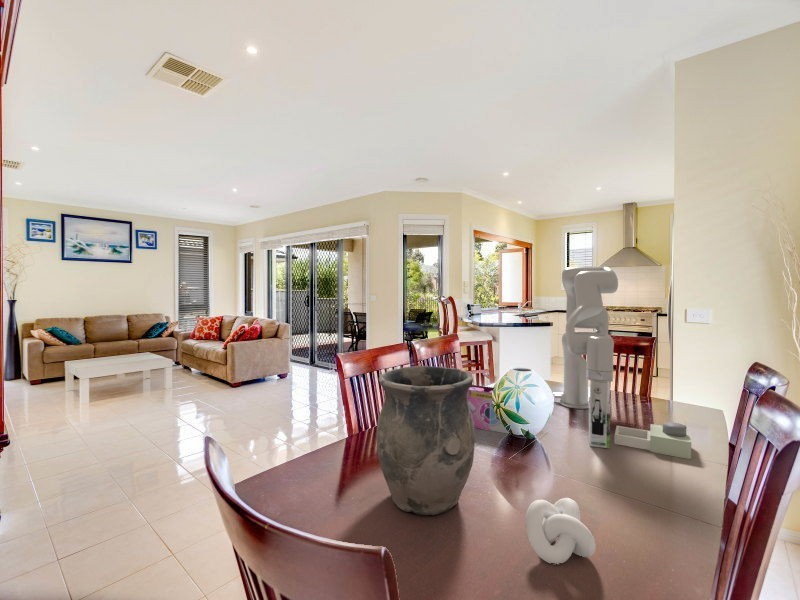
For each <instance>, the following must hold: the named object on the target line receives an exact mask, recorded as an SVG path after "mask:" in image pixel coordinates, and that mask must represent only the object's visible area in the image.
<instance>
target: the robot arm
mask: <svg viewBox="0 0 800 600" xmlns="http://www.w3.org/2000/svg"><path fill="white" fill-rule="evenodd" d="M561 272H562V273H561V282H562V285H563V287H564V290H565V294H566V315H565V317H566V323H565V324H566V325H565V332H564V333H563V334H562V337H561V345H562V351H563V352H562V353H563V392H554V391H553V393H552V395H553V394H554V398H555V399H560V400H559V404H560V405H561V406H563V407H566V408H570V409H576V410H577V409H578V410H579V409H580V410H586V409H589V397H590V409H591V411H592V412H593V421H592V434H596V435H601V436H603V435H604V422H603V413H605V414H608V412H609V402H610V403H611V386H610V383H611V382H613V381H614V347H615V342H614V339H613V337H611V335H610V334H609V324H610V323H609V321H610V319H609V317H610V316H609V312H608V310H607V308H605V307H604V304H603V297H602V294H614V293H616V292H617V291H618V288H619V279H618V276H617V274H616V272H615V271H614V270H613V269H611V268H610V267H609V266H599V265H598V266H571V267H565V268H564V269H563V270H562V271H561ZM575 329H579V330H575ZM580 329H583V330H580ZM584 329H586V330H587V331H586V330H584ZM588 330H589V331H588ZM592 330H593V331H592ZM594 330H595V331H594ZM583 355H584V356H586V359H585V358H584V356H583ZM589 381H590V383H589ZM589 385H590V386H589ZM592 408H593V409H592ZM599 410H601V411H602V412H599ZM599 414H600V415H601V417H600V415H599Z"/></svg>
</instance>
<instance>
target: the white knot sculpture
mask: <svg viewBox="0 0 800 600" xmlns="http://www.w3.org/2000/svg"><path fill="white" fill-rule="evenodd" d="M525 528H526V529H525V530H526V533H527V536H528V537H527V538H528V540H529V542H530V545H531V547H532V548H533V550H534V551H535V553H536V554H537V555H538V556H539V558H540V559H542V560H543V561H545V562H546V563H548V564H551V563H557V565H559V564H558V563H562V564H563V563H565V562H567V561H568V560H569V558H570V557H571V556H572V554H575V555H577V556H578V557H581V556H582V557H581V558H588V557H591V556H593V555H594V553H595V552H596V546H597V545H596V541H595V538H594V536H593V534H592V532H591V531H590V529H589V528H588V527H587V526H586V525H585V524H584V523H583V522H581V511H580V508H579V504H578V503H577V502H576V501H575V500H574V499H572V498H569V497H563V498H560V499H558V500H557V501H555V502H554V503H553V504H552V503H551V502H549V501H547V500H546V499H536V500H534V501H532V502H531V503H530V505H529V506H528V508H527V511H526V514H525ZM556 539H557V540H556ZM555 541H556V542H555ZM554 542H555V543H554ZM553 543H554V544H553Z"/></svg>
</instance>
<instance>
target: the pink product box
mask: <svg viewBox="0 0 800 600" xmlns="http://www.w3.org/2000/svg"><path fill="white" fill-rule="evenodd" d="M494 388H495V387H493V386H492V387H490V386H485V385H484V386H483V385H477V384H471V386H470V388H469V390H468V392H467V400H468V404H469V407H470V410H471V414H472V418H473V423H474V429H481V430H486V431H492V432H495V433H496V432H497V433H501V434H502V433H503V434H507V435H510V434H509V432H508V431H507V430H506V429H505V428H504V427H503V425H502V424H501V422H500V421H499V419H498V418H497V416H496V414H495V412H494V409H493V405H492V392H493V389H494Z"/></svg>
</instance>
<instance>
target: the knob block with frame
mask: <svg viewBox="0 0 800 600" xmlns="http://www.w3.org/2000/svg"><path fill="white" fill-rule="evenodd" d="M649 427H650V429H649V430H648V429H647V430H646V429H640V428H633V427H630V426H629V427H628V426H623V425H622V426H621V425H616V428H615V432H614V445H618V446H619V445H620V446H624V447H630V448H636V449H640V450H647V451H649V452H650V453H655V454H661V455H666V456H671V457H677V458H680V459H681V458H682V459H687V460H692V439H691V436H690V432H689V429H687V425H684V424H683V423H680V422H679V423H678V422H674V421H664V422H662V425H660V424H659V425H658V424H652V423H650V426H649Z"/></svg>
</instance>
